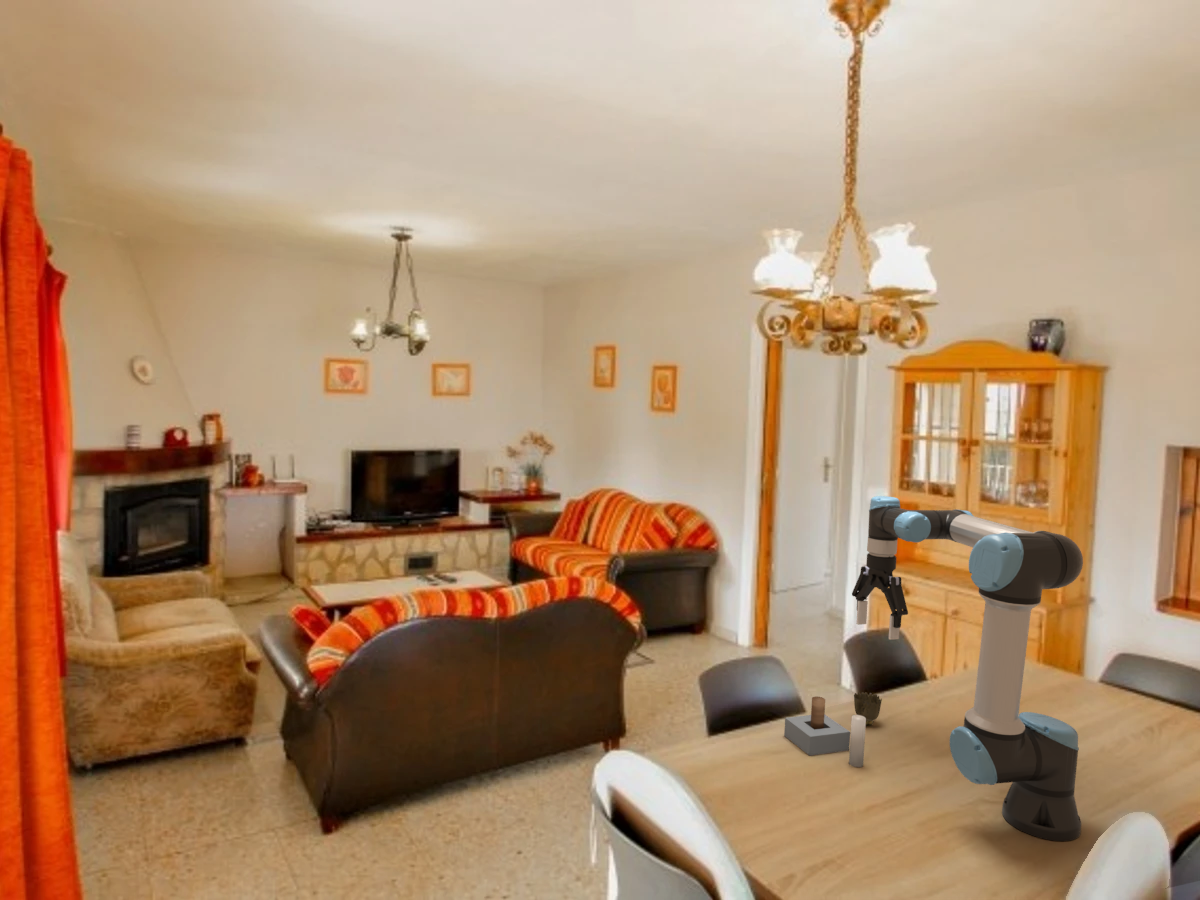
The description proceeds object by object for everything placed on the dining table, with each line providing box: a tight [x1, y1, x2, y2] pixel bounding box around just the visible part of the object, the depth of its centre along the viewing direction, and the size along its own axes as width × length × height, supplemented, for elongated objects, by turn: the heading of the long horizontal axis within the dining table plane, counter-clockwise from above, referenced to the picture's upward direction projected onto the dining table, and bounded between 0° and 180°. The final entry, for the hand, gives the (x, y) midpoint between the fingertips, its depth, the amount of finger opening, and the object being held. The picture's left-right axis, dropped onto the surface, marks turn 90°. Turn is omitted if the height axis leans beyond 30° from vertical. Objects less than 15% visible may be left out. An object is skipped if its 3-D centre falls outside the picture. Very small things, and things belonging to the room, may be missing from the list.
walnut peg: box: [810, 696, 826, 730], centre depth 211 cm, size 3×3×12 cm
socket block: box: [783, 714, 851, 757], centre depth 211 cm, size 12×12×5 cm
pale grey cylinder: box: [848, 714, 867, 768], centre depth 199 cm, size 3×3×12 cm
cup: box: [853, 691, 883, 727], centre depth 224 cm, size 8×7×8 cm
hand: (877, 631), depth 215 cm, fingers open, 13 cm apart
